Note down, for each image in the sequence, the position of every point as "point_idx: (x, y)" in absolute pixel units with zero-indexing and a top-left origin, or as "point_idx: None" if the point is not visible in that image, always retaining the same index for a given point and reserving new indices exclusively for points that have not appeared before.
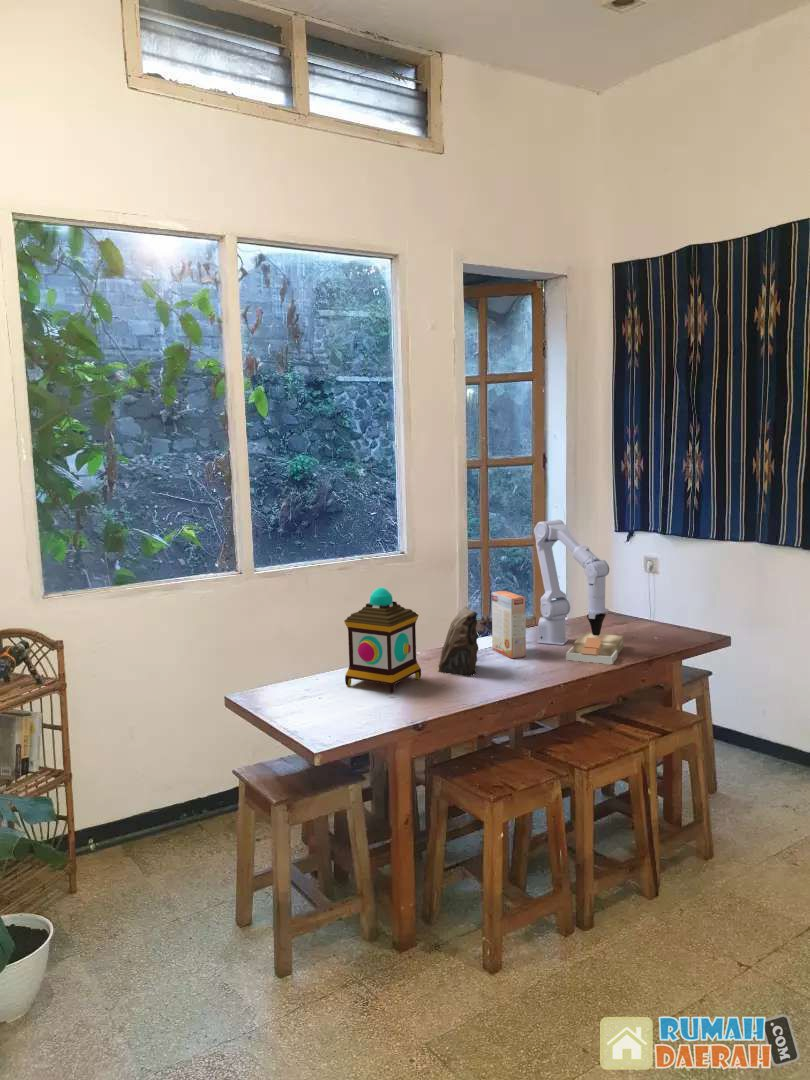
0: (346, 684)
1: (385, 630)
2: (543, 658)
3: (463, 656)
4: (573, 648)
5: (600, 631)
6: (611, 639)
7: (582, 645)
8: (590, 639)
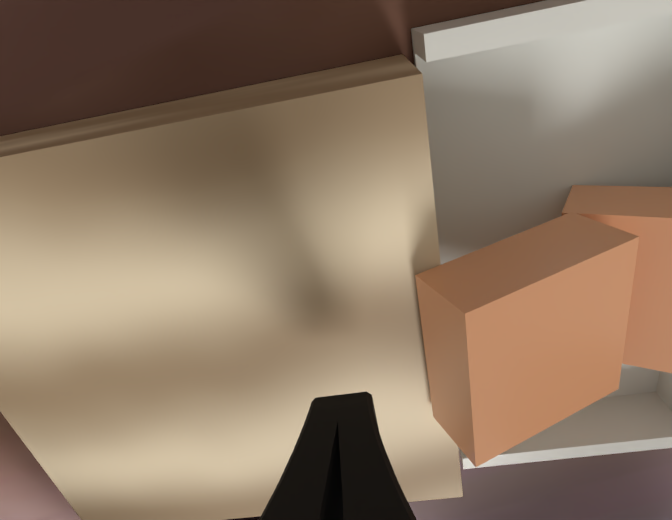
0: None
1: None
2: (645, 505)
3: None
4: None
5: (307, 430)
6: (121, 257)
7: None
8: (504, 415)
